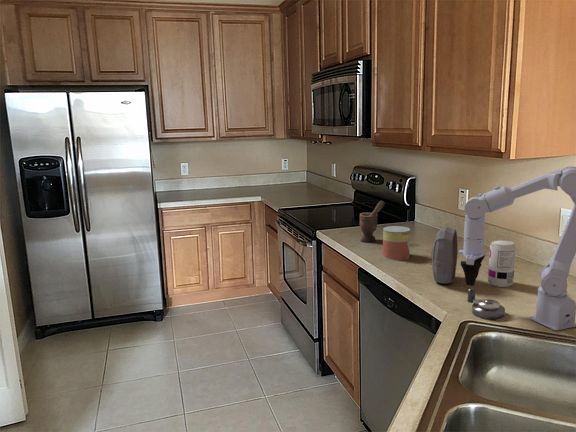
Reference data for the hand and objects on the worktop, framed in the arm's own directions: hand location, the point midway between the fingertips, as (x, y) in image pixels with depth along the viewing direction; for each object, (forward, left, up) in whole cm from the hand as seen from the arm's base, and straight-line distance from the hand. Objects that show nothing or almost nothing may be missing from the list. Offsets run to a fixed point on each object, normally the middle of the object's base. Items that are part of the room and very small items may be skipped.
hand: (471, 281), depth 143 cm
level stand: (-4, -3, -9) cm, 11 cm away
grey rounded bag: (+26, -9, -10) cm, 29 cm away
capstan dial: (-2, -2, -7) cm, 8 cm away
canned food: (+59, -10, -10) cm, 61 cm away
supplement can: (+15, -25, -10) cm, 31 cm away
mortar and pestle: (+86, -13, -10) cm, 87 cm away
